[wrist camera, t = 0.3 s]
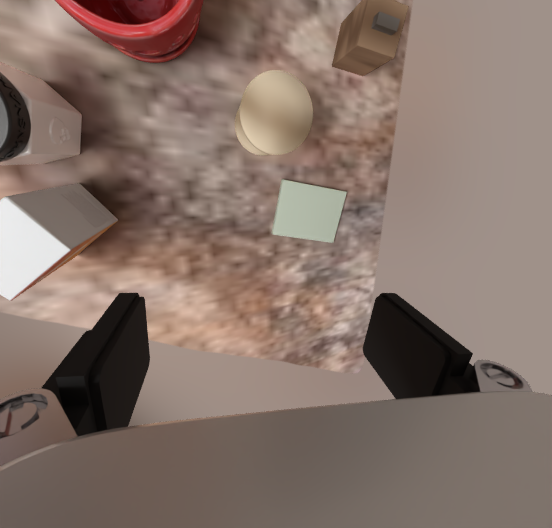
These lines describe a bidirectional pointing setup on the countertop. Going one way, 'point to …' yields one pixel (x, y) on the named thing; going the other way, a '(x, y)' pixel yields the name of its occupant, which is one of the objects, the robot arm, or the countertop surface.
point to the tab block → (369, 36)
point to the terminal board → (308, 211)
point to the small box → (46, 233)
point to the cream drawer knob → (274, 114)
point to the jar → (35, 121)
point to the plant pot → (140, 25)
